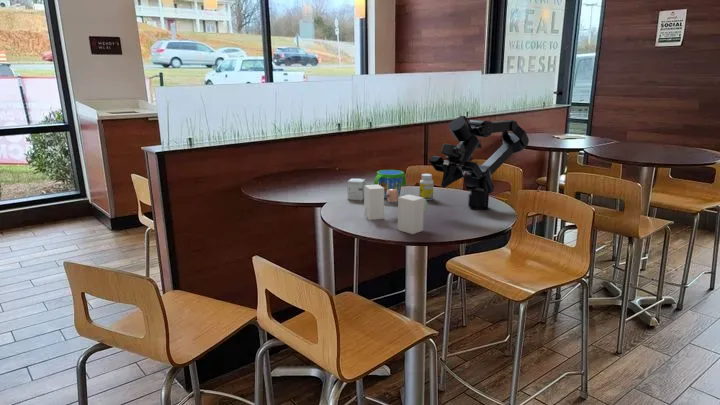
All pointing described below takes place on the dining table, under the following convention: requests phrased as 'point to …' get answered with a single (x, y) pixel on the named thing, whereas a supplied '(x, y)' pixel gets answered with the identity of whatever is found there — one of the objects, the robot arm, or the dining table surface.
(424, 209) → the sage button
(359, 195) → the skincare box
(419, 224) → the sage button housing
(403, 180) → the snack cup
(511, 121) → the robot arm
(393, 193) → the terracotta button
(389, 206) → the dining table surface
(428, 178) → the supplement bottle
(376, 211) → the white tall block
